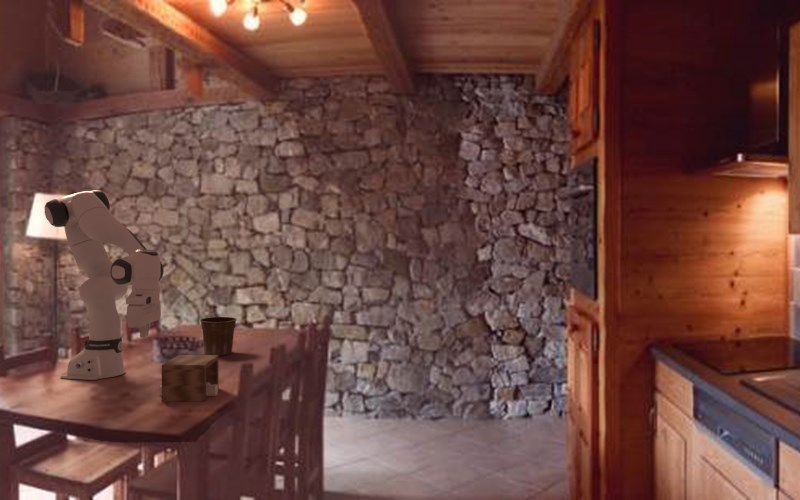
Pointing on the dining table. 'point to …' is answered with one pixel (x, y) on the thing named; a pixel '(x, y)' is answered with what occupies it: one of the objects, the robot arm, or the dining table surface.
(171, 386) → the wooden crate box
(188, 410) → the dining table surface
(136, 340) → the dining table surface
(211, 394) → the tray
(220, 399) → the dining table surface
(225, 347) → the plant pot
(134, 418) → the dining table surface
